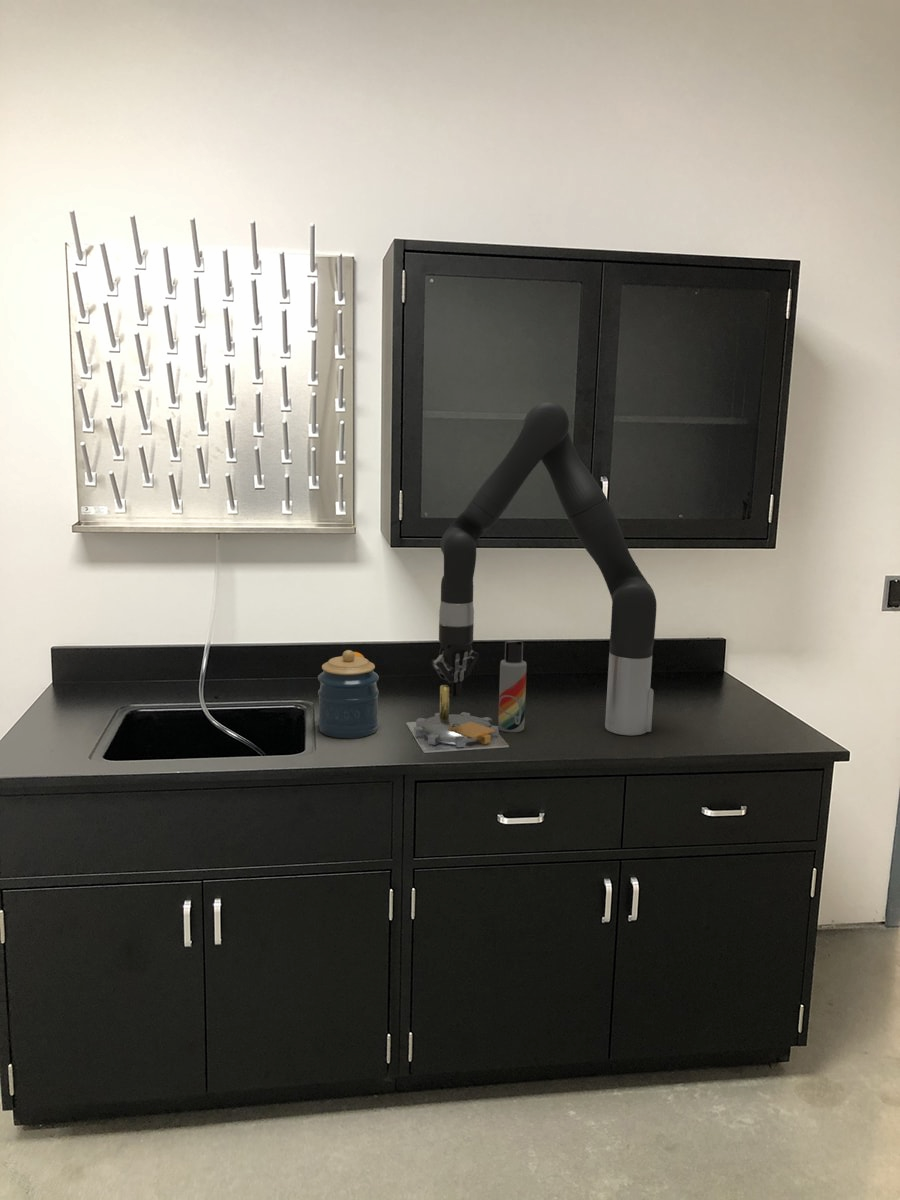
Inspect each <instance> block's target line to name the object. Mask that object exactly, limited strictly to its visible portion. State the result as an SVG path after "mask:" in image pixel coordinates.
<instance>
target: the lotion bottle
mask: <svg viewBox="0 0 900 1200" xmlns="http://www.w3.org/2000/svg"><path fill="white" fill-rule="evenodd" d="M523 655H524V642H523V641H522V639H514V640H508V641H507V640H506V641H505V642H504V659H501V660H500V664H499V692H498V693H499V694H498V696H499V697H498V721H497V722H498V723H497V726H499V731H502V732H506V733H520V732H522V731H523V730H524V729H525V718H526V717H525V716H526V715H525V714H526V693H527V692H526V691H527V688H526V687H527V669H528V668H527V662H526V661H525V660H523V659H524V658H523V657H524V656H523Z"/></svg>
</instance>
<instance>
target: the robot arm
mask: <svg viewBox="0 0 900 1200" xmlns="http://www.w3.org/2000/svg"><path fill="white" fill-rule="evenodd" d="M569 420H570V419H569V415H568V413H567V411H566V410H565V409H564V408H563V406H561V405H560V404H558V403H555V402H551V401H545V402H544V401H543V402H539V403H538V404H536V405H535V406H533V407H531V409H530V410H529V411H528V412H527V413H526V415H525V418H524V420H523V425H522V426H523V427H522V429H521V431H520V432H519V435H518V436H517V438H516V440H515V441H514V443H513V446H512V447H511V448H510V449H509V451H508V453H507V454H506V455H505V457H504V458H503V459H502V461H500V463H499V464H498V465H497V467H496V468H495V469H494V470H493V471H492V472H491V474H489V476H488V477H487V478H486V480H485V481H484V482H483V483H482V485H481V486H480V488H479V489H478V490H477V491H476V493H475V495H473V497H472V499H471V500H470V501H469V503H468V504H467V505H466V508H465V509H464V510H463V511H462V512H461V513H460V514H459V515H458V516H457V517H456V519H455V520H454V521H453V522H452V523H450V525H449V527H447V529H446V531H444V533H443V534H442V537H441V539H440V550H441V553H442V554H443V576H442V578H441V582H440V603H439V604H440V606H439V613H438V617H439V618H438V641H439V643H440V649H439V650H438V652H439V653H438V654H439V655H438V657H437V658H436V659H432V660H431V662H430V663H431V666H432V667H433V669H434V670H435V671H436V673H437V674H438V676H439V678H440V679H441V680H445V681H447V683H448V686H449V698H451V699H458V698H461V695H462V692H463V689H462V688H463V687H462V686H463V680H464V679H465V678H468V677H469V676H470V674H471V672H472V671H473V669H474V668H475V665H476V663H477V661H478V659H479V657H480V653H479V652H476V651H474V650H473V646H472V643H473V641H474V625H475V623H474V621H475V620H474V619H475V617H474V615H475V609H474V608H475V607H474V575H475V570H476V562H477V544H476V543H477V542H478V541H479V539H480V538H481V537H482V536H483V534H484V533H485V532H486V531H488V530H490V529H491V528H493V526H494V525H495V524H496V523H497V522H498V520H499V518H501V516H502V514H503V513H504V512H505V510H506V509H507V507H508V506H509V505H510V503H511V502H512V500H513V499H514V498H515V496H516V495H517V493H518V492H519V490H520V488H521V487H522V485H523V484H524V482H525V481H526V479H527V478H528V477H529V475H530V474H531V473H532V471H533V470H534V469H535V467H537V465H538V464H539V463H540V461H541V462H542V463H543V465H544V467H545V468H546V471H547V472H548V474H549V476H550V479H551V481H552V484H553V486H554V488H555V489H554V490H555V492H556V494H557V496H558V498H559V499H558V500H559V501H560V504H561V506H562V508H563V511H564V512H565V515H566V518H567V520H568V521H569V524H570V525H571V527H572V529H573V531H574V533H575V535H576V537H577V538H578V540H579V541H580V543H581V545H582V546H583V547H584V549H585V550H586V552H587V553H588V554H589V556H590V557H591V558H592V559H593V561H594V562H595V564H596V565H597V567H598V569H599V571H600V572H601V575H602V577H603V579H604V582H605V584H606V586H607V590H608V591H609V594H610V598H611V602H612V603H611V618H610V619H611V621H610V623H611V624H610V636H609V649H608V650H609V653H608V654H609V655H608V668H607V669H608V671H607V687H606V688H607V690H606V703H605V704H606V705H605V720H604V722H605V723H604V724H605V725H604V727H605V729H606V730H607V731H608V732H610V733H613V734H615V735H622V736H640V735H644V734H646V733H651V732H652V721H653V709H654V708H653V706H654V689H653V688H652V687H651V679H652V666H653V654H654V653H653V651H654V643H655V631H656V622H657V620H656V619H657V599H656V595H655V592H654V591H655V590H654V589H653V587H652V586H651V585H650V584H649V582H648V581H647V579H646V577H645V576H644V575H643V574H642V572H641V570H640V569H639V567H638V565H637V563H636V562H635V561H634V559H633V556H632V555H631V553H630V551H629V548H628V546H627V543H626V540H625V537H624V534H623V531H622V529H621V527H620V524H619V521H618V518H617V517H616V514H615V512H614V510H613V508H612V506H611V504H610V502H609V500H608V498H607V496H606V494H605V493H604V491H603V489H602V487H601V486H600V484H599V483H598V482H597V480H596V479H595V477H594V476H593V474H592V473H591V472H590V471H589V469H588V468H587V467H586V465H585V464H584V462H583V461H582V460H581V458H580V456H579V454H578V452H577V450H576V448H575V445H574V443H573V440H572V438H571V436H570V433H569V429H570V421H569Z"/></svg>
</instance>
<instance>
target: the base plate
mask: <svg viewBox="0 0 900 1200" xmlns="http://www.w3.org/2000/svg"><path fill="white" fill-rule="evenodd" d="M406 726H407V727H408V730H409V731H410V733H411V734H412V736H413V738H414V739H415V740H416V742H417V744H418V746H419V747H420V749H421V750H422V752H423V753H424V754H425V753H426V754H428V753H429V754H431V753H442V752H443V753H444V752H455V751H456V752H457V751H459V752H460V751H469V750H470V751H472V750H486V749H501V748H509V747H510V746H509V744H508V743H507V742H506V740H505V739H504V738H503V737H502V735H500V734H499V736H498V735H491V742H490V743H487V744H483V743H480V742H477V743H472V744H465V747H456V744H444V743H438V744H436V745H433V744H430V743H428V739H427V738H425V737H424V736H418V737H416V736H415V735H414V727H416V721H409V722H408V721H407V722H406Z"/></svg>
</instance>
